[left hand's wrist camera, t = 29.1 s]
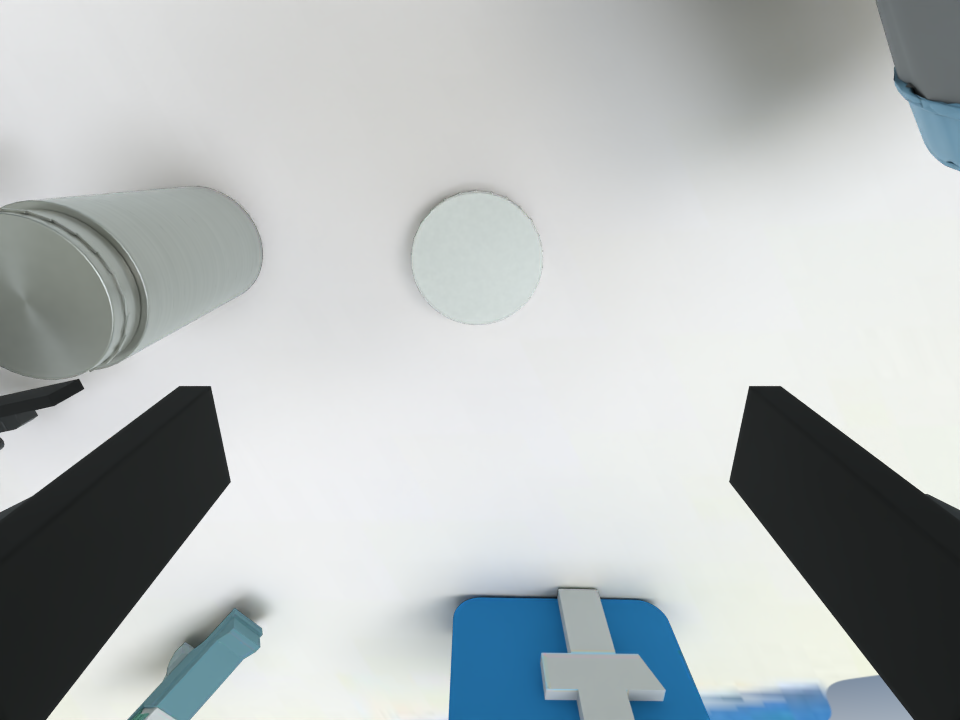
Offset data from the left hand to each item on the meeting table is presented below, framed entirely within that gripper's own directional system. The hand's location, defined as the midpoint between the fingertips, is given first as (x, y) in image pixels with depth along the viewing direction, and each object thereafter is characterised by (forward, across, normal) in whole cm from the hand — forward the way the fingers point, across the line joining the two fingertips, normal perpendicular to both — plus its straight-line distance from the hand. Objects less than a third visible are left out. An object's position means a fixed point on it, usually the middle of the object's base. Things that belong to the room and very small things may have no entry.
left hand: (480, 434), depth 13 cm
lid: (+25, 0, 0) cm, 25 cm away
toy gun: (+27, +28, +39) cm, 54 cm away
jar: (+27, +20, -1) cm, 33 cm away
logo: (+27, -8, +36) cm, 45 cm away
